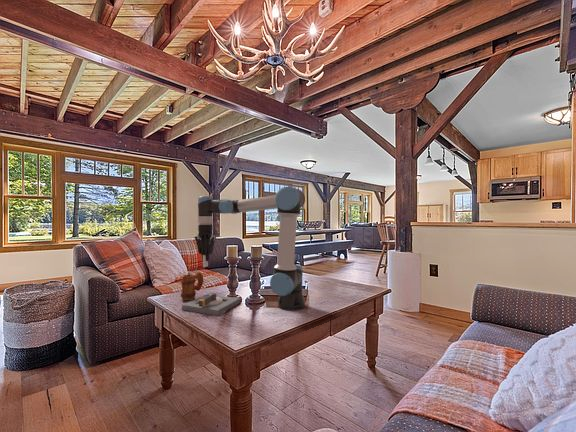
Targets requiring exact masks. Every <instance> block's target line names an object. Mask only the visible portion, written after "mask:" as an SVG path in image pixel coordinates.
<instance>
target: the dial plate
mask: <svg viewBox="0 0 576 432" xmlns="http://www.w3.org/2000/svg"><path fill="white" fill-rule="evenodd" d="M208 294H209V293H207V294H204V295H203V296H199V297H198V298H194V299H192V300H189V301H187V302H185V303H184V304H182V305H181V311H188V312H193V313H201V314H206V315H213V316H219V315H221V314H223V313H225V312H227V311H228V310H230V309H232V308H234V307H235V306H237V305H239V304H240V303H241V298H239V297H232V296H224V295H217V294H216V297H220V298H222V299H223V303H221V304H220V305H218V306H216V307H215V306H208V305H205V306H203V307H199V300H201V299H203V298H205V297H206V296H208Z"/></svg>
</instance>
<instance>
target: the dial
mask: <svg viewBox="0 0 576 432" xmlns="http://www.w3.org/2000/svg"><path fill="white" fill-rule="evenodd" d="M207 294H208V296H206V297H205V298H203V299H201V300H199V307H203V306H205V305H208V306H215V307H216V306H218V305H220V304H221V303H223V299H222V298H220V297H216V295H217V293H215V292H212V293H207Z"/></svg>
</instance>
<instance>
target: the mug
mask: <svg viewBox="0 0 576 432" xmlns="http://www.w3.org/2000/svg"><path fill="white" fill-rule="evenodd" d="M181 277H182V279H181V281H180V283H181V293H180V298H181V300H183V301H187V302H190V301H193V300H195V299H196V295H197V293H196V291H198V292H199V291H200V290H201V289H202V287H203V284H204V276H203V274H202V272H200V271H196V272H195V273H194V274H184V275H182V276H181ZM196 280H197V283H196ZM195 283H196V285H195Z"/></svg>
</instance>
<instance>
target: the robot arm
mask: <svg viewBox="0 0 576 432" xmlns="http://www.w3.org/2000/svg"><path fill="white" fill-rule="evenodd" d="M197 201H198V202H197V208H198V209H197V210H198V213H197V214H198V216H197V224H198V226H197V227H198V228H197V230H198V234H197V235H196V236H194V240H195V243H196V247H197V253H198V254H199V255H201V261H202V267H203V268H206V267H209V261H210V255H211V254H213V252H214V247H215V243H216V242H215V241H216V240H217V236H214V235H213V214H223V215H225V214H233V215H235V214H236V215H237V214H241V213H248V212H258V211H260V212H261V211H269V210H277V215H278V216H279V225H278V226H279V227H278V243H277V259H276V264H275V265H274V266H273V275H272V276H271V278H270V280H269V286H270V288H271V290H272V292H273V293H274V294H276V295H277V296H279V297H278V301H277V307H278V308H279V309H281V310H285V311H299V310H303V309H305V308H306V300H305V297H304V295H303V294H304V293H303V272H304V271H303V266H302V265H301V264H295V252H296V241H297V240H296V239H297V237H296V236H297V222H298V221H297V220H298V219H297V218H298V217H299V216H300V215H301V210H302V209H301V208H303V206H304V205H305V202H306V196H305V193H304V192H303V191H302V190H301V189H299V188H296V187H294V186H283V187H281V188H280V189H278V191H277V192H276V194H274V195H268V196H259V197H251V198H243V199H234V200H232V199H213V197H212V196H208V195H207V196H206V195H205V196H204V195H200V196H199V197H198V200H197Z"/></svg>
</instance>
